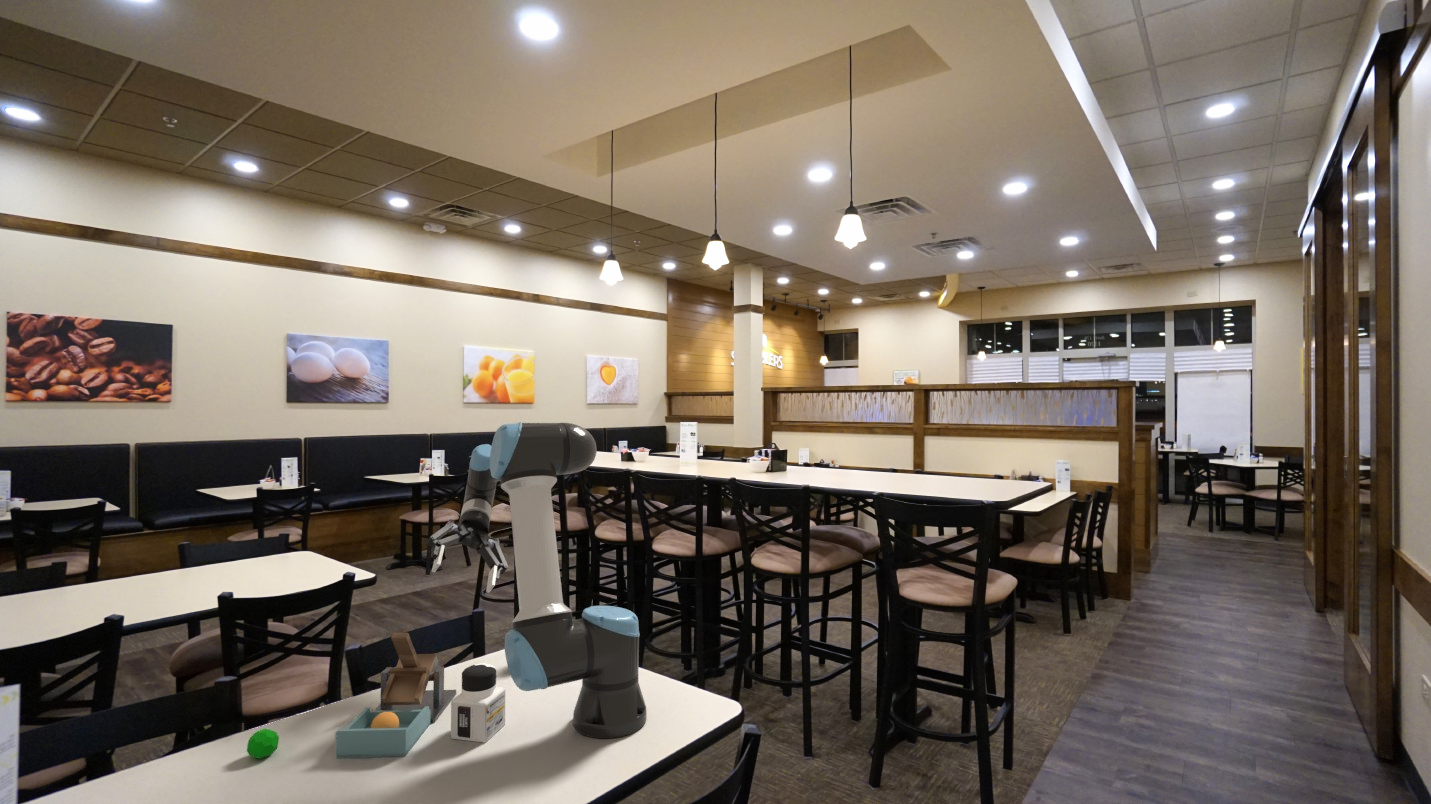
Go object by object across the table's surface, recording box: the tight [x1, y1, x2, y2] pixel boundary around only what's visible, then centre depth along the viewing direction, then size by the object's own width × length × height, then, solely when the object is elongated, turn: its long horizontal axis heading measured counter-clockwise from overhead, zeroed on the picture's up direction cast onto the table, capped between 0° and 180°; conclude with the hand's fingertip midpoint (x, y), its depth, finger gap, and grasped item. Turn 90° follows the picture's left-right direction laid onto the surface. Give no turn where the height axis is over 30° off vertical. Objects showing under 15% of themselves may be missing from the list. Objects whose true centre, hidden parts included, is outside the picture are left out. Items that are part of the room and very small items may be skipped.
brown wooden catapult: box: [380, 632, 440, 705], centre depth 139 cm, size 12×9×17 cm
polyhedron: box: [246, 728, 280, 760], centre depth 123 cm, size 5×5×5 cm
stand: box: [374, 665, 457, 724], centre depth 143 cm, size 14×14×8 cm
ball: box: [371, 712, 399, 728], centre depth 129 cm, size 5×5×5 cm
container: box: [450, 662, 506, 743], centre depth 133 cm, size 8×8×13 cm
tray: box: [335, 706, 431, 759], centre depth 129 cm, size 13×13×5 cm
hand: (463, 578), depth 154 cm, fingers open, 13 cm apart
